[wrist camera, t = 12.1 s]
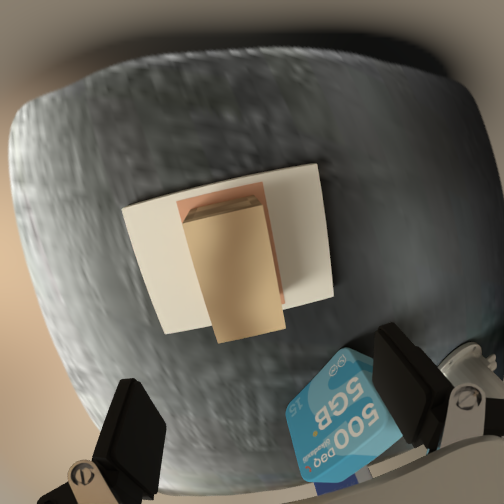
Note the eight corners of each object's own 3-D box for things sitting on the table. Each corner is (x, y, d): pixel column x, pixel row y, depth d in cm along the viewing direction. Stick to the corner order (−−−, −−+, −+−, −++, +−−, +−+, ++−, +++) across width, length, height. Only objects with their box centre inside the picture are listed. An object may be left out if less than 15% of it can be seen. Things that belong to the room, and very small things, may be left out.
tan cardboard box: (253, 194, 22) (262, 205, 17) (273, 296, 25) (285, 328, 20) (190, 209, 22) (181, 223, 17) (218, 309, 25) (218, 343, 20)
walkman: (308, 453, 37) (325, 512, 26) (303, 447, 36) (321, 509, 25) (353, 435, 37) (378, 491, 25) (350, 427, 36) (377, 487, 24)
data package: (345, 341, 29) (393, 418, 18) (370, 352, 31) (417, 423, 19) (282, 408, 32) (303, 486, 21) (309, 415, 33) (333, 487, 22)
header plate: (311, 163, 23) (317, 163, 22) (328, 289, 27) (333, 296, 26) (127, 205, 23) (121, 209, 21) (167, 325, 26) (164, 334, 25)
